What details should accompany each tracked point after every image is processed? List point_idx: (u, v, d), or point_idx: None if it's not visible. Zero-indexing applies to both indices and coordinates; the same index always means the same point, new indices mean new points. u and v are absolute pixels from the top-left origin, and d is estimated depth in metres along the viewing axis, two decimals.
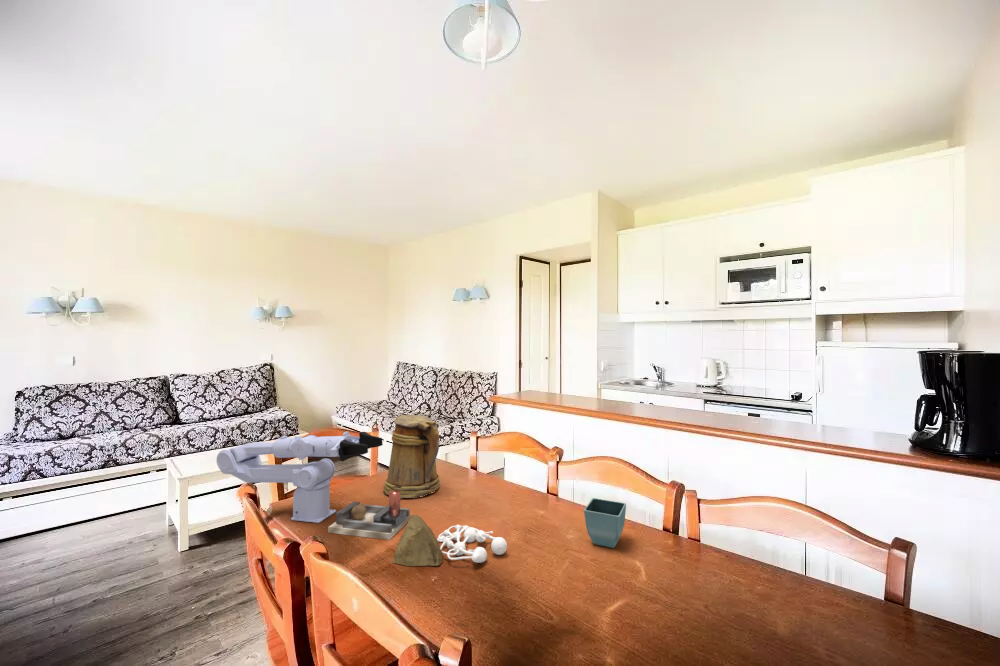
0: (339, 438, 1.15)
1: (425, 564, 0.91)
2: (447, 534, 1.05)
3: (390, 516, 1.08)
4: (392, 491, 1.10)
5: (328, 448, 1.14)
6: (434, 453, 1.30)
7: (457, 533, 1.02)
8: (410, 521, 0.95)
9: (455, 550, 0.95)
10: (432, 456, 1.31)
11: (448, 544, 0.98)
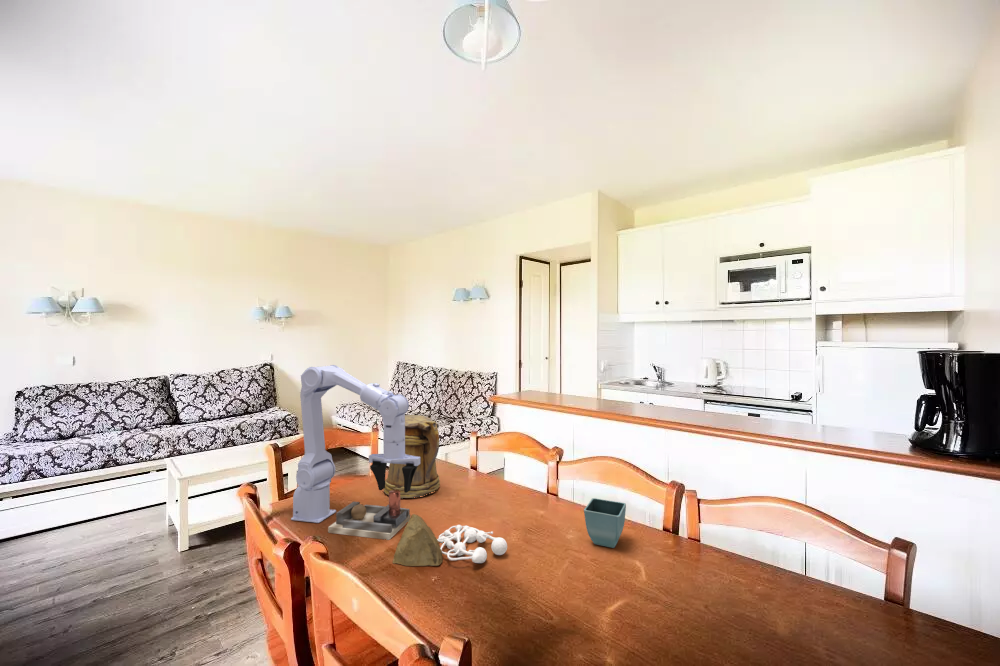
0: (385, 454, 1.08)
1: (425, 564, 0.91)
2: (447, 534, 1.05)
3: (390, 516, 1.08)
4: (392, 491, 1.10)
5: None
6: (434, 453, 1.30)
7: (457, 533, 1.02)
8: (410, 521, 0.95)
9: (455, 550, 0.95)
10: (432, 456, 1.31)
11: (448, 544, 0.97)
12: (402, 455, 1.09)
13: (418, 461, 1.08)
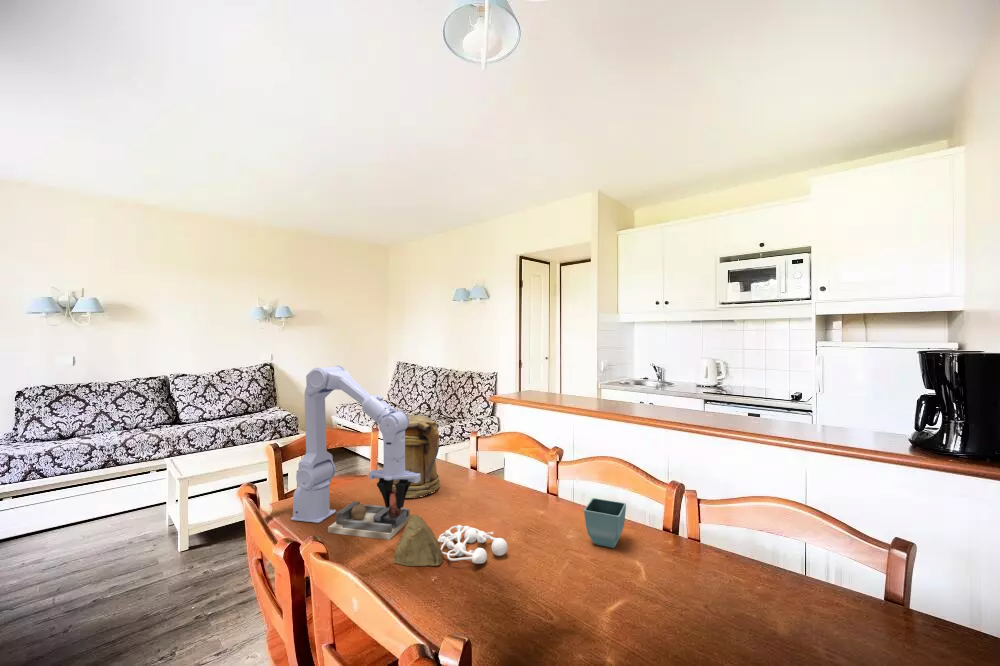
0: (385, 471, 1.08)
1: (425, 564, 0.91)
2: (448, 534, 1.05)
3: (390, 516, 1.08)
4: (392, 491, 1.10)
5: None
6: (434, 453, 1.30)
7: (458, 533, 1.02)
8: (410, 521, 0.95)
9: (455, 551, 0.95)
10: (432, 456, 1.31)
11: (448, 545, 0.97)
12: (402, 472, 1.09)
13: (418, 478, 1.08)
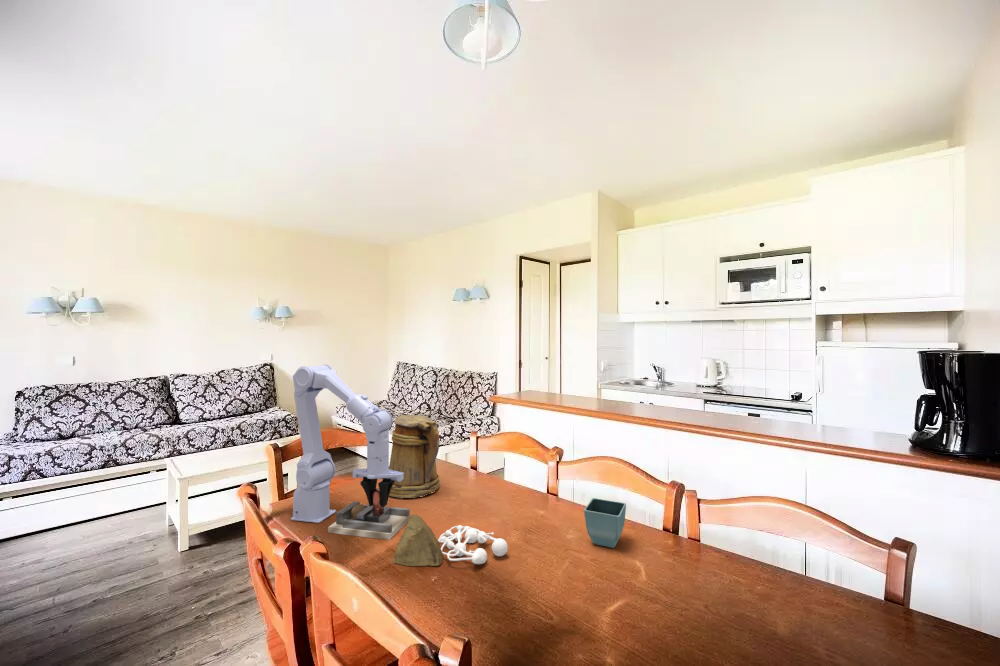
0: (368, 470, 1.09)
1: (425, 564, 0.91)
2: (448, 535, 1.05)
3: (373, 514, 1.09)
4: (376, 490, 1.11)
5: None
6: (434, 453, 1.30)
7: (458, 534, 1.02)
8: (410, 521, 0.95)
9: (455, 551, 0.95)
10: (432, 456, 1.31)
11: (449, 545, 0.97)
12: (385, 471, 1.10)
13: (401, 477, 1.10)
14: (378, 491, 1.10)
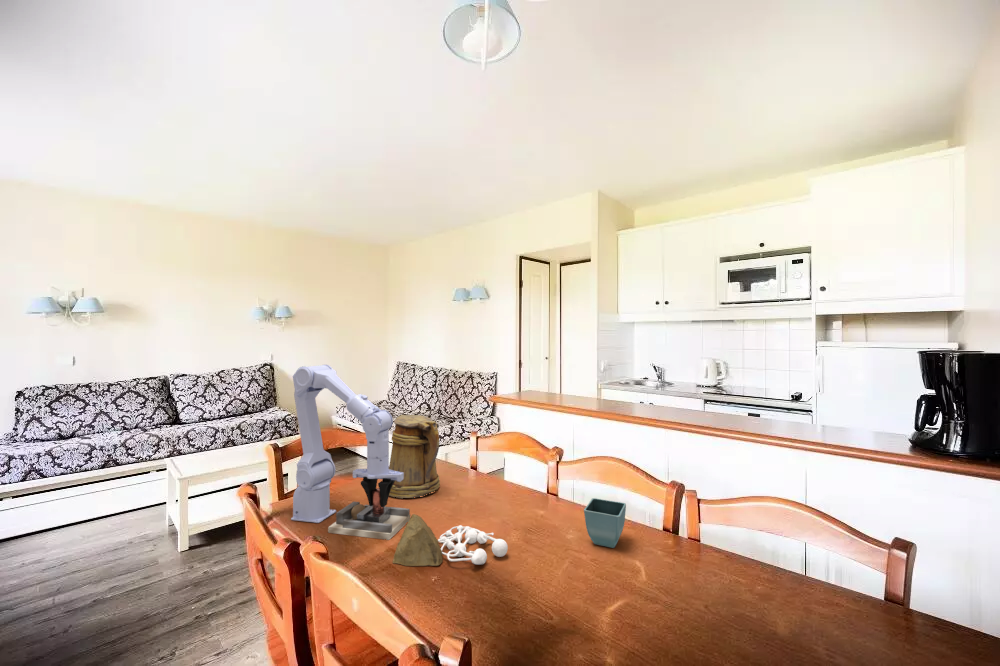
0: (368, 470, 1.09)
1: (425, 564, 0.91)
2: (449, 535, 1.05)
3: (373, 514, 1.09)
4: (376, 490, 1.11)
5: None
6: (434, 453, 1.30)
7: (458, 534, 1.02)
8: (410, 521, 0.95)
9: (455, 551, 0.95)
10: (432, 456, 1.31)
11: (449, 545, 0.97)
12: (385, 471, 1.10)
13: (401, 477, 1.10)
14: (378, 491, 1.10)
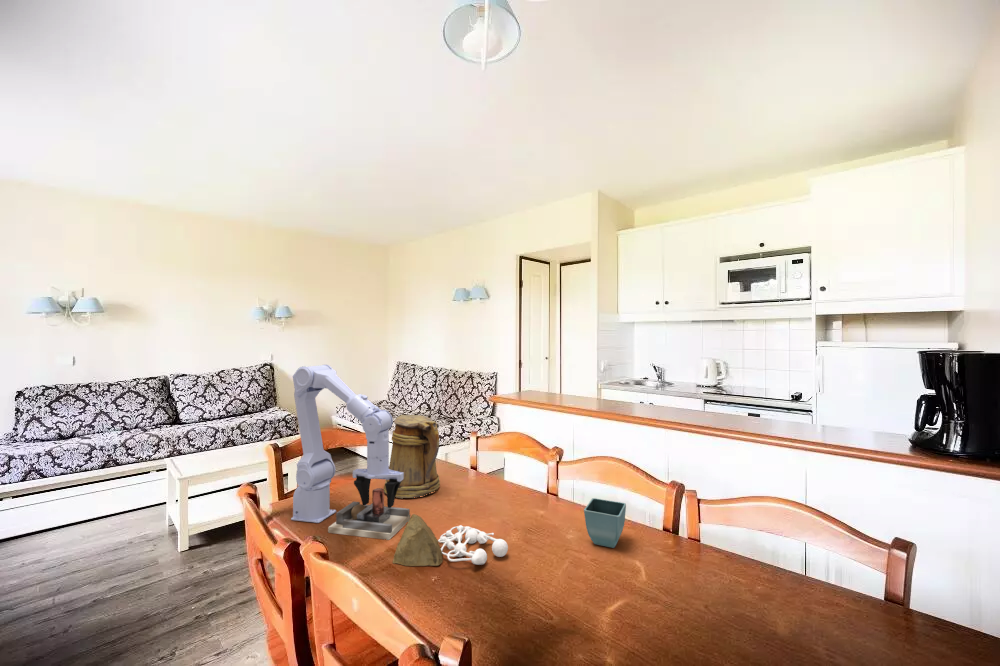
0: (368, 470, 1.09)
1: (425, 564, 0.91)
2: (449, 535, 1.05)
3: (373, 514, 1.09)
4: (376, 490, 1.11)
5: None
6: (434, 453, 1.30)
7: (458, 534, 1.02)
8: (410, 521, 0.95)
9: (455, 551, 0.95)
10: (432, 456, 1.31)
11: (449, 545, 0.97)
12: (385, 471, 1.10)
13: (401, 477, 1.10)
14: (378, 491, 1.10)
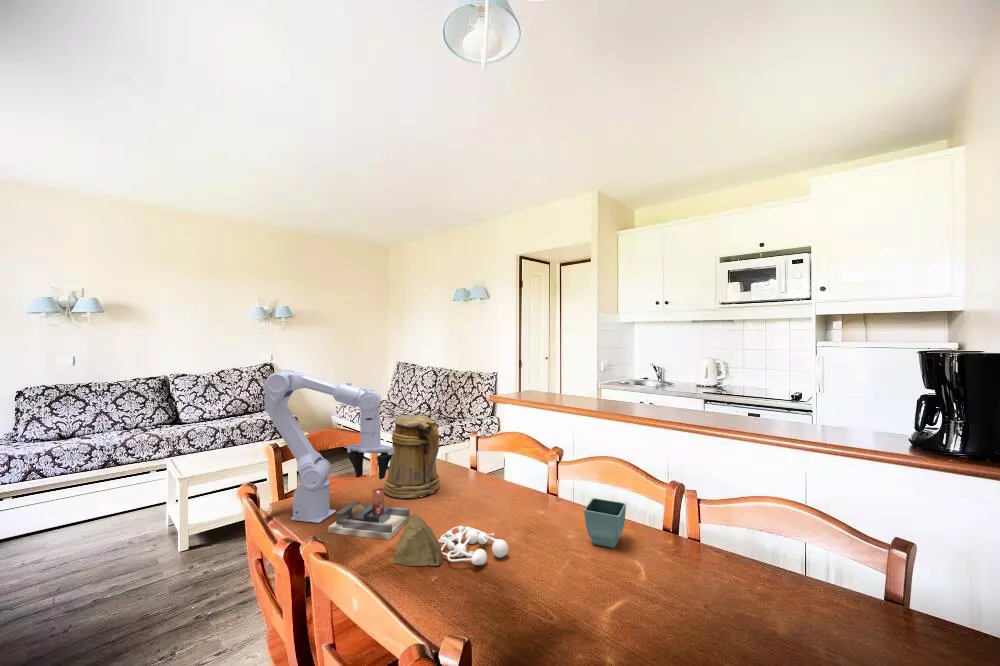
0: (361, 444, 1.19)
1: (425, 564, 0.91)
2: (449, 535, 1.05)
3: (373, 514, 1.09)
4: (376, 490, 1.11)
5: None
6: (434, 453, 1.30)
7: (459, 534, 1.02)
8: (410, 521, 0.95)
9: (455, 552, 0.94)
10: (432, 456, 1.31)
11: (449, 545, 0.97)
12: (377, 445, 1.20)
13: (392, 451, 1.19)
14: (378, 491, 1.10)
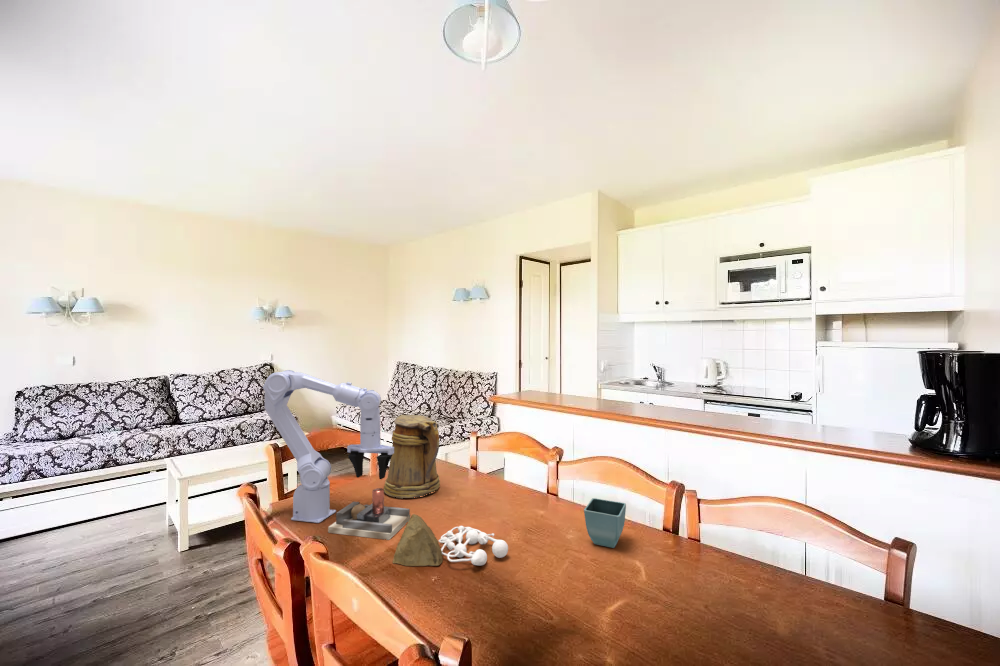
0: (361, 444, 1.19)
1: (425, 564, 0.91)
2: (450, 535, 1.05)
3: (373, 514, 1.09)
4: (376, 490, 1.11)
5: None
6: (434, 453, 1.30)
7: (459, 534, 1.01)
8: (410, 521, 0.95)
9: (455, 552, 0.94)
10: (432, 456, 1.31)
11: (449, 545, 0.97)
12: (377, 445, 1.20)
13: (392, 451, 1.19)
14: (378, 491, 1.10)
